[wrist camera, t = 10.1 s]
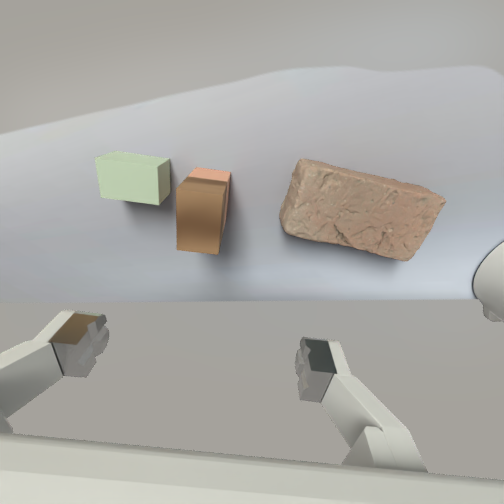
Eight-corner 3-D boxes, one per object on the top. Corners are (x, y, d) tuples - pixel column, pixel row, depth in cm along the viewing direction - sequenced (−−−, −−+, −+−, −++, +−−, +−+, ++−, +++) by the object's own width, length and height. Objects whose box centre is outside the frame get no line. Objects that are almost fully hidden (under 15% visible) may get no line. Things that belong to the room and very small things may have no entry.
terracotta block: (196, 167, 30) (187, 176, 26) (230, 172, 30) (227, 182, 26) (194, 215, 33) (186, 230, 29) (226, 219, 33) (222, 234, 29)
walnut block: (187, 176, 26) (175, 188, 22) (227, 181, 26) (222, 195, 22) (187, 230, 29) (176, 250, 25) (222, 234, 29) (218, 254, 25)
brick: (277, 220, 33) (280, 237, 29) (297, 154, 29) (304, 162, 25) (393, 245, 35) (412, 264, 31) (427, 186, 31) (454, 199, 27)
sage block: (170, 158, 29) (157, 166, 25) (170, 192, 31) (159, 205, 27) (116, 150, 29) (94, 157, 25) (120, 185, 31) (100, 197, 27)
